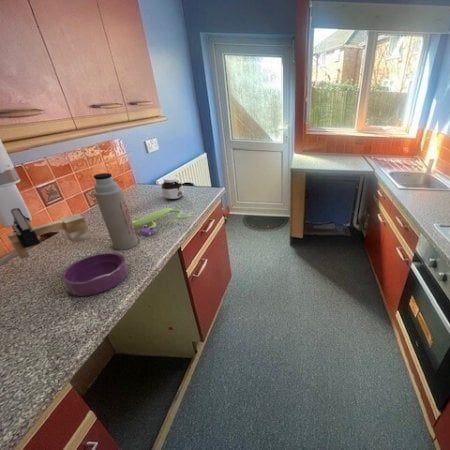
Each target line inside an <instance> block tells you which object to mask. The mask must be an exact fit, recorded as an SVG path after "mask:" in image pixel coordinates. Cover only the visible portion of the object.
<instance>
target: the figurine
mask: <svg viewBox="0 0 450 450" xmlns="http://www.w3.org/2000/svg"><path fill="white" fill-rule="evenodd" d="M170 213H178V214H176V219H177V220H187V219H189V218H190V217H191V216H192V215H196V212H195V211H191V212H189V213H188V214H187V216H182V215H183V214H184V212H183V211H182V210H181V205H178V204H177V205H176V206H175V208H170V207H165V208H162V209H159V210H156V211H152V212H151V213H148V214H146V215H144V216H142V217H140V218H139V219H138V217H137V216H134V218H133V219H131V221H132V224H133V227H134V228H136V227H142V228H141V230H140V234H141V235H145V236H151V235H154V234H155V229H154V228H156V227H157V224H156V222H155V221H158V222H161V220H160V219H161V218H163V217H165V216H166V215H168V214H170ZM151 224H152V225H151Z"/></svg>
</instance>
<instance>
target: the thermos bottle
mask: <svg viewBox="0 0 450 450" xmlns="http://www.w3.org/2000/svg"><path fill="white" fill-rule="evenodd" d="M93 179H95V184H94V185H93V189H94V192H93V194H94V198H95V200H96V202H97V205H98V208H99V210H100V213H101V215H102V219H103V221H104V225H105V226H106V229H107V232H108V235H109V237H110V240H111V243H112V246H113V248H114V249H115V250H119V251H120V250H121V251H122V250H123V251H124V250H127V249H131V248H133V247H135V246H136V245H137V244H138V242H139V240H138V237H137V234H136V231H135V230H136V229H135V227H134V226H133V224H134V223H133V224H132V221H131V220H132V217H131V214H130V212H129V208H128V205H127V202H126V198H125V195H124V191H123V189H122V188H121V187H120V186H119V183H118V182H117V181H114V177H113V175H112V174H111V172H110V173H109V172H103V173H102V172H101V173H97V174H94V175H93Z"/></svg>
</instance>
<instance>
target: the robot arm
mask: <svg viewBox="0 0 450 450" xmlns="http://www.w3.org/2000/svg"><path fill="white" fill-rule="evenodd" d="M21 181H22V180H21V179H20V176H19V174H18V172H17V170H16V168H15V166H14V164H13V162H12V160H11V158H10V156H9V154H8V151H7V150H6V147H5V145H4V144H3V141H2V139H1V138H0V223H1V225H3V226H4V227H5V228H8V229H9V228H12V230H13V232H17V237H18V239H19V241H20V242H21V244H22V246H23V247H24V248H25V249H28V248H31V247H34V246H37V245H40V244H41V242H40V240H39V238H38V236H36V234H35V232H34V230H33V229H32V228H31V227H32V225H31V222H32V221H33V217H32V215H31V212H30V210H29V208H28V205H27V204H26V201H25V200H24V198H23V196H22V194H21V192H20V190H19V188H18V187H17V185H16V184H19V183H21ZM13 232H12V233H13Z"/></svg>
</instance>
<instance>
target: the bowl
mask: <svg viewBox="0 0 450 450" xmlns="http://www.w3.org/2000/svg"><path fill="white" fill-rule="evenodd" d="M128 274H129V267H128V265H127V261H126V259H125V256H123V254H121V253H117V252H102V253H101V252H100V253H97V254H92V255H89V256H86V257H84V258H81V259H79V260H77V261H75V262H73V263H71V264H70V265H68V266H67V267H66V268H65V269H64V270H63V272H62V273H61V277H60V278H61V281H62V283H63V285H64V287H65V289H66V290H67V292H68V293H69V294H70V295H73V296H78V297H80V296H81V297H82V296H83V297H85V296H92V295H97V294H99V293H103V292H105V291H108V290H110V289H112V288H114V287H116V286H117V285H119V284H120V283H121V282H123V281H124V280H125V278H127V276H128Z"/></svg>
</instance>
